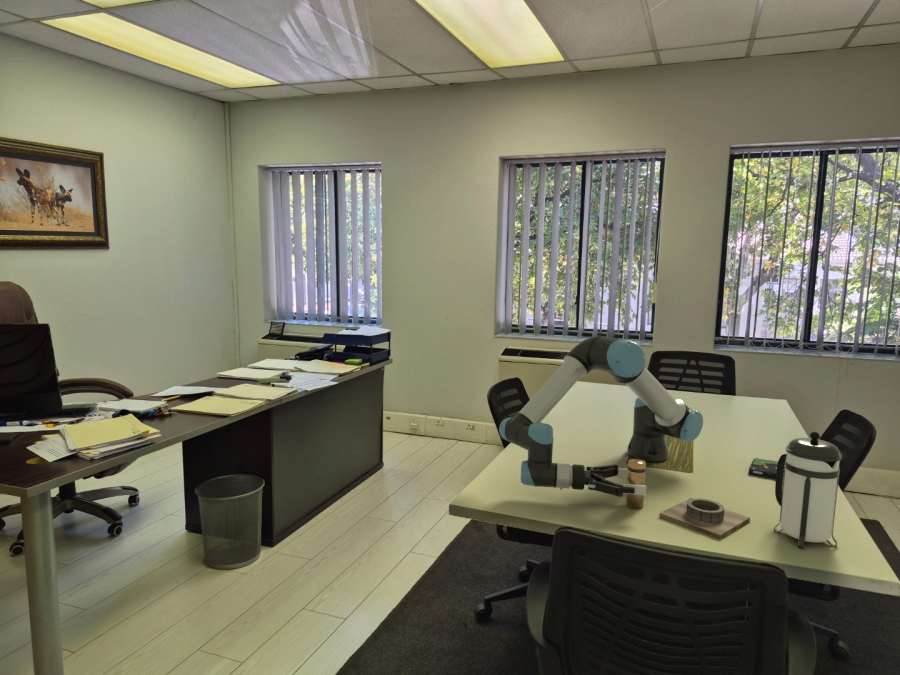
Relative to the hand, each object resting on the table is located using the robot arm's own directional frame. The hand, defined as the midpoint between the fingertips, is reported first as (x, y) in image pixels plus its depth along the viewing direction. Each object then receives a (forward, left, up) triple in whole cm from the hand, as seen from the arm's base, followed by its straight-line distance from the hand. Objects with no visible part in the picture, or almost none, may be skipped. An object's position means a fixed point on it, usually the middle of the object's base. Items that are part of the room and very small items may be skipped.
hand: (642, 481), depth 181 cm
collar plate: (-7, +16, -8) cm, 19 cm away
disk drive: (-64, +11, -9) cm, 65 cm away
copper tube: (+1, -2, -8) cm, 8 cm away
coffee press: (-17, +38, -8) cm, 43 cm away
